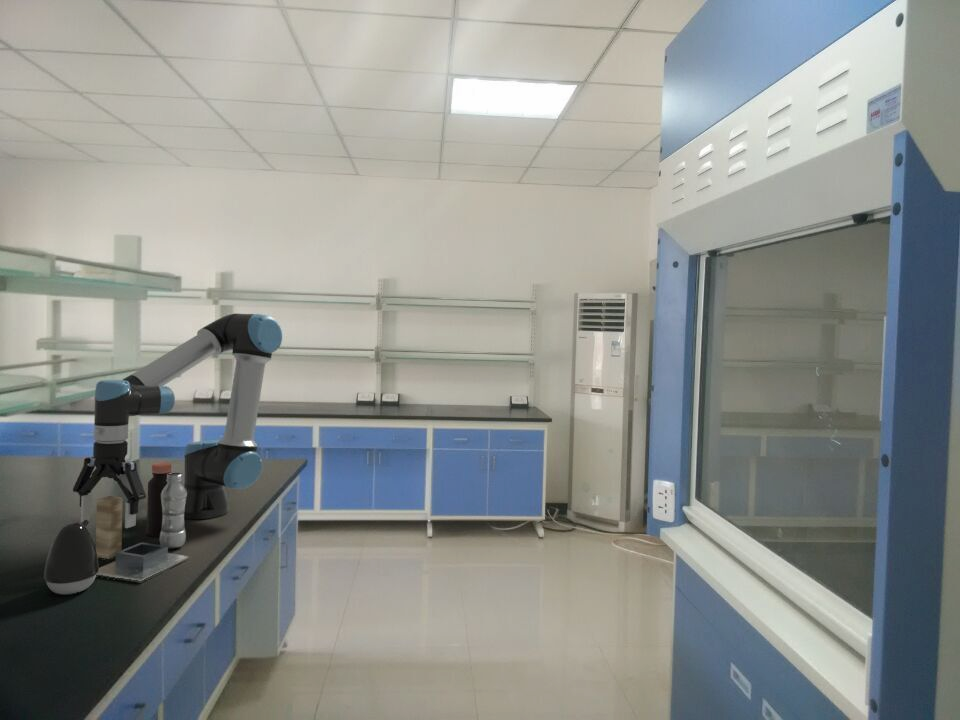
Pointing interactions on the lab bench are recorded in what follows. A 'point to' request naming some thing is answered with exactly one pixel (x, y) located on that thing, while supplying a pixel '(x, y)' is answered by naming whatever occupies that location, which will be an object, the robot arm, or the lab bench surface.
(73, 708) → the lab bench surface
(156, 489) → the vinegar
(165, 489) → the plastic bottle
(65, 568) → the dark grey egg shape
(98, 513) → the beech rail
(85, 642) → the lab bench surface
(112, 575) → the grey socket base
